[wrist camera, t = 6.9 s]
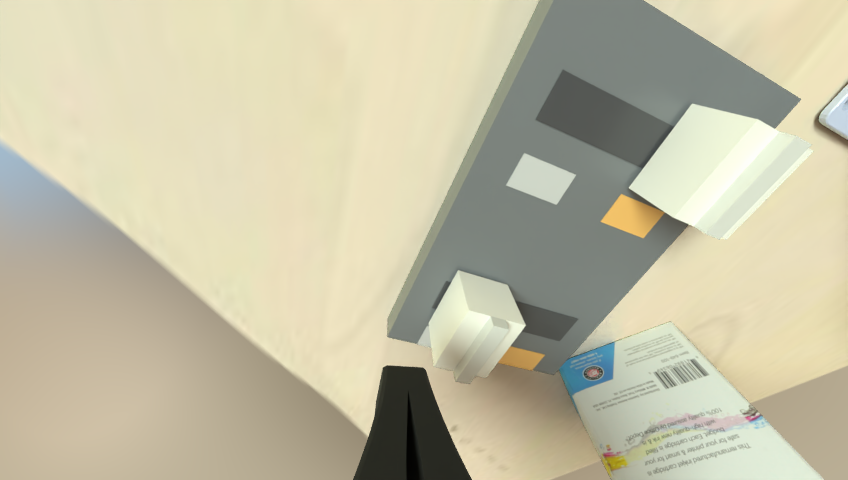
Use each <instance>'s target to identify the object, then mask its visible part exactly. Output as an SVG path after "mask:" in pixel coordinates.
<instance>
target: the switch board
mask: <svg viewBox="0 0 848 480" xmlns="http://www.w3.org/2000/svg"><path fill="white" fill-rule="evenodd" d="M800 100H801V99H800V98H798V97H797V96H795V95H794V94H792V93H790V92H789V91H787V90H786V89H784V88H782V87H781V86H779V85H778V84H776V83H774V82H773V81H771V80H770V79H768V78H767V77H765V76H763V75H762V74H760V73H759V72H757V71H755V70H754V69H752V68H751V67H749V66H747V65H746V64H744V63H743V62H741V61H739V60H738V59H736V58H735V57H733V56H731V55H730V54H728V53H727V52H725V51H723V50H722V49H720V48H719V47H717V46H715V45H714V44H712V43H711V42H709V41H707V40H706V39H704V38H703V37H701V36H699V35H698V34H696V33H695V32H693V31H691V30H690V29H688V28H687V27H685V26H684V25H682V24H680V23H679V22H677V21H676V20H674V19H672V18H671V17H669V16H668V15H666V14H664V13H663V12H661V11H660V10H658V9H656V8H655V7H653V6H652V5H650V4H648V3H647V2H645V1H644V0H540V1H539V3H538V5H537V7H536V9H535V11H534V13H533V15H532V18H531V20H530V22H529V24H528V26H527V28H526V30H525V32H524V34H523V36H522V38H521V41H520V43H519V45H518V47H517V49H516V51H515V53H514V55H513V57H512V59H511V62H510V64H509V66H508V68H507V70H506V72H505V74H504V76H503V78H502V80H501V82H500V85H499V87H498V89H497V91H496V93H495V95H494V97H493V99H492V101H491V103H490V106H489V108H488V110H487V112H486V114H485V116H484V118H483V120H482V122H481V124H480V126H479V129H478V131H477V133H476V135H475V137H474V139H473V141H472V143H471V145H470V147H469V150H468V152H467V154H466V156H465V158H464V160H463V162H462V164H461V166H460V168H459V170H458V173H457V175H456V177H455V179H454V181H453V183H452V185H451V187H450V189H449V191H448V194H447V196H446V198H445V200H444V202H443V204H442V206H441V208H440V210H439V212H438V214H437V217H436V219H435V221H434V223H433V225H432V227H431V229H430V231H429V233H428V235H427V238H426V240H425V242H424V244H423V246H422V248H421V250H420V252H419V254H418V256H417V259H416V261H415V263H414V265H413V267H412V269H411V271H410V273H409V275H408V277H407V279H406V282H405V284H404V286H403V288H402V290H401V292H400V294H399V296H398V298H397V300H396V303H395V305H394V307H393V309H392V311H391V313H390V315H389V317H388V327H387V337H389V338H394V339H398V340H402V341H407V342H411V343H415V344H417V345H421V346H426V347H430V348H431V341H430V332H429V321H430V320H431V318H432V316H433V314H434V312H435V311H436V309H437V307H438V305H439V303H440V302H441V300H442V298H443V296H444V295H445V293H446V291H447V289H448V287H449V286H450V284H451V282H452V280H453V279H454V277H455V275H456V273H457V271H458V270H460V271H463V272H466V273H470V274H473V275H476V276H480V277H483V278H486V279H490V280H493V281H496V282H500V283H503V284H506V285H508V287H509V289H510V291H511V293H512V296H513V298H514V300H515V302H516V305H517V307H518V309H519V311H520V314H521V316H522V318H523V320H524V322H525V325H526V326H525V327H524V329H523V330H522V331H521V333H520V334H519V335H518V337H517V338H516V339H515V341H514V342H513V343H512V344H511V346H510V347H509V348H508V350H507V351H506V352H505V354H504V355H503V356H502V358H501V359H500V360H499V362H498V363H501V364H505V365H509V366H514V367H518V368H523V369H527V370H531V371H532V370H534V371H538V372H543V373H547V374H552V375H554V374H555V373H556V372H557V371H558V370H559V369H560V367H561V366H562V365H563V364H564V363H565V362H566V361H567V360H568V359H569V357H570V356H571V355H572V354H573V353H574V352H575V351H576V350H577V349H578V347H579V346H580V345H581V344H582V343H583V342H584V341H585V340H586V339H587V337H588V336H589V335H590V334H591V333H592V332H593V331H594V330H595V328H596V327H597V326H598V325H599V324H600V323H601V322H602V321H603V320H604V318H605V317H606V316H607V315H608V314H609V313H610V312H611V311H612V310H613V308H614V307H615V306H616V305H617V304H618V303H619V302H620V301H621V300H622V298H623V297H624V296H625V295H626V294H627V293H628V292H629V291H630V290H631V288H632V287H633V286H634V285H635V284H636V283H637V282H638V281H639V279H640V278H641V277H642V276H643V275H644V274H645V273H646V272H647V271H648V269H649V268H650V267H651V266H652V265H653V264H654V263H655V262H656V261H657V259H658V258H659V257H660V256H661V255H662V254H663V253H664V252H665V251H666V249H667V248H668V247H669V246H670V245H671V244H672V243H673V242H674V241H675V239H676V238H677V237H678V236H679V235H680V234H681V233H682V232H683V231H684V229H685V228H686V227H687V226H688V225H689V224H687V223H685V222H682V221H680V220H678V219H675V218H673V217H671V216H670V215H668V214H667V213H665V212H664V211H662V210H661V209H659V208H658V207H656V206H655V205H653V204H652V203H650V202H649V201H647V200H646V199H644V198H643V197H641V196H640V195H638V194H637V193H635V192H634V191H632V190H631V189H629V187H630V185H631V184H632V183H633V181H634V180H635V179H636V177H637V176H638V175H639V173H640V172H641V171H642V169H643V168H644V167H645V165H646V164H647V163H648V161H649V160H650V159H651V157H652V156H653V155H654V153H655V152H656V151H657V149H658V148H659V147H660V146H661V144H662V143H663V142H664V140H665V139H666V138H667V136H668V135H669V134H670V132H671V131H672V130H673V128H674V127H675V126H676V124H677V123H678V122H679V120H680V119H681V118H682V116H683V115H684V114H685V112H686V111H687V110H688V108H689V107H690V106H691V104H696V105H700V106H704V107H708V108H713V109H717V110H721V111H725V112H729V113H734V114H738V115H742V116H746V117H750V118H754V119H758V120H760V121H762V122H764V123H765V124H767V125H769V126H771V127H772V128H774V129H775V128H776V127H777V126H778V125H779V124H780V123H781V121H782V120H783V119H784V118H785V117H786V116H787V115H788V114H789V112H790V111H791V110H792V109H793V108H794V107H795V106H796V105H797V104H798V102H799V101H800Z"/></svg>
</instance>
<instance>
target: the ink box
mask: <svg viewBox="0 0 848 480" xmlns="http://www.w3.org/2000/svg"><path fill="white" fill-rule="evenodd" d="M559 371H560V374H561V376H562V379H563V381H564V383H565V386H566V388H567V391H568V393H569V395H570V398H571V400H572V402H573V404H574V406H575V408H576V410H577V412H578V414H579V416H580V418H581V420H582V422H583V424H584V427H585V429H586V431H587V433H588V435H589V437H590V439H591V441H592V443H593V445H594V447H595V449H596V451H597V453H598V455H599V457H600V459H601V461H602V463H603V465H604V467H605V469H606V470H607V472H608V475H609V477H610V479H611V480H824V479H823V478H822V476H821V475H819V473H818V472H817V471H815V470H814V469H813V468H812V467H811V466H810V465H809V464H808V463H807V461H806V460H804V458H803V457H802V456H801V455H800V454H799V453H798V452H797V451H796V450H795V449H794V448H793V447H792V446H791V445H790V444H789V443H788V442H787V441H786V440H785V439H784V438H783V437H782V436H781V435H780V434H779V433H778V432H777V431H776V430H775V428H774V427H773V426H772V425H771V424H769V422H768V421H767V420H766V419H765V418H764V417H763V416H762V415H761V414H760V413H759V412H758V411H757V410H756V409H755V408H754V407H753V406H752V405H751V404H750V403H749V402H748V401H747V400H746V399H745V398H744V397H743V396H742V395H741V394H740V393H739V392H738V390H737V389H736V388H735V387H734V386H733V385H732V384H731V383H730V382H729V381H728V380H727V379H726V378H725V377H724V376H723V375H722V374H721V373H720V372H719V371H718V370H717V369H716V368H715V367H714V366H713V365H712V364H711V363H710V362H709V360H708V359H707V358H706V357H705V356H704V355H703V354H702V353H701V352H700V351H699V350H698V349H697V348H696V347H695V346H694V345H693V344H692V343H691V342H690V341H689V339H688V338H687V337H686V336H685V335H684V334H683V333H682V332H681V331H680V330H679V329H678V328H677V327H676V326H675V325H674V324H673V323H672V322H667V323H664V324H662V325H659V326H656V327H654V328H651V329H648V330H645V331H643V332H640V333H637V334H635V335H632V336H629V337H627V338H624V339H621V340H618V341H616V342H613V343H610V344H608V345H605V346H602V347H599V348H597V349H594V350H591V351H589V352H586V353H584V354H581V355H578V356H575V357H572V358H570V359H568V360H567V361H566V362H565V363H564V364H563V365H562V366H561V367H560V369H559Z"/></svg>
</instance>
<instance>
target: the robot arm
mask: <svg viewBox="0 0 848 480" xmlns="http://www.w3.org/2000/svg"><path fill="white" fill-rule="evenodd" d="M819 122H820V123H821V124H822V125H824V126H825V127H827V128H829V129H830V130H832V131H834V132H835V133H837V134H839V135H840V136H842V137H843V138H845V139H847V140H848V84H847V85H846V86H845V87H844V88H843V90H842V91H841V92H840V93H839V94H838V95H837V96H836V97H835V98H834V99H833V100H832V101H831V102H830V103H829V104H828V105H827V106H826V108H825V109H824V110H823V111H822V112H821V114H820V116H819ZM353 480H472V479H471V477H470V475H469V473H468V471H467V469H466V467H465V465H464V463H463V461H462V459H461V457H460V455H459V453H458V451H457V449H456V447H455V445H454V443H453V441H452V438H451V436H450V434H449V431H448V429H447V427H446V424H445V422H444V420H443V417H442V415H441V413H440V410H439V407H438V405H437V402H436V400H435V397H434V394H433V391H432V388H431V385H430V382H429V379H428V376H427V372H426V370H425V369H424V368H419V367H403V366H385V367H383V370H382V375H381V380H380V385H379V390H378V395H377V400H376V409H375V417H374V420H373V424H372V427H371V431H370V434H369V437H368V440H367V443H366V446H365V449H364V451H363V454H362V457H361V460H360V463H359V466H358V468H357V471H356V474H355V476H354V479H353Z"/></svg>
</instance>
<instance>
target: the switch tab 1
mask: <svg viewBox="0 0 848 480" xmlns="http://www.w3.org/2000/svg"><path fill="white" fill-rule="evenodd" d="M525 326H526V325H525V322H524V320H523V318H522V316H521V314H520V311H519V309H518V307H517V305H516V302H515V300H514V298H513V296H512V293H511V291H510V289H509V287H508V285H506V284H503V283H500V282H496V281H493V280H490V279H486V278H483V277H480V276H476V275H473V274H470V273H466V272H463V271H460V270H458V271H457V273H456V275H455V277H454V279H453V280H452V282H451V284H450V286H449V287H448V289H447V291H446V293H445V295H444V296H443V298H442V300H441V302H440V303H439V305H438V307H437V309H436V311H435V312H434V314H433V316H432V318H431V320H430V321H429V332H430V341H431V349H432V358H433V366H434V367H436V368H441V369H445V370H450V371H453V372H454V378H455V382H460V383H465V384H470V383H471V382H472V380H473V379H474V378H475V376H479V377H483V378H487V376H488V375H489V374H490V372H491V371H492V370H493V368H494V367H495V366H496V364H497V363H498V362H499V360H500V359H501V358H502V356H503V355H504V354H505V352H506V351H507V350H508V348H509V347H510V346H511V344H512V343H513V342H514V341H515V339H516V338H517V337H518V335H519V334H520V333H521V331H522V330H523V329H524V327H525Z"/></svg>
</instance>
